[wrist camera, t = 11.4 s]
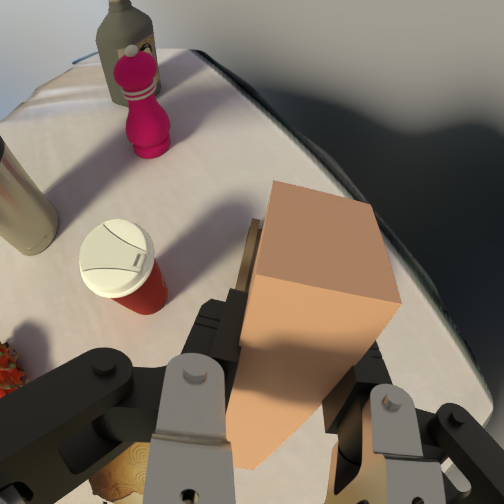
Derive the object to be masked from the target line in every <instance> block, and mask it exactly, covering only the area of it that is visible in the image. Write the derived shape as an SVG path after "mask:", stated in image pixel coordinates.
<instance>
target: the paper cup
mask: <svg viewBox="0 0 504 504" xmlns="http://www.w3.org/2000/svg"><path fill="white" fill-rule="evenodd" d="M79 263H80V271H81V275H82V278H83V280H84V282H85V284H86V285H87V286H88V287H89V288H90V290H92V291H93V292H94V293H96V294H98V295H100V296H103V297H107V298H111V299H112V300H114V301H116V302H118V303H119V304H121V305H123V306H125V307H127V308H128V309H130V310H132V311H134V312H136V313H139V314H142V315H150V314H154V313H156V312H157V311H159V310H160V309H161V308H162V307H163V305H164V304H165V302H166V299H167V288H166V285H165V282H164V279H163V277H162V274H161V272H160V269H159V266H158V264H157V261H156V259H155V250H154V245H153V242H152V240H151V238H150V236H149V234H148V233H147V232H146V231H145V230H144V229H143V228H142V227H141V226H139V225H137V224H135V223H132V222H129V221H126V220H121V219H115V220H109V221H106V222H103V223H102V224H100V225H99V226H97V227H96V228H95V229H93V230H92V231H91V232H90V233H89V234H88V236H87V237H86V238H85V240H84V242H83V244H82V246H81V249H80V254H79Z"/></svg>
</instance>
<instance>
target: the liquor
mask: <svg viewBox="0 0 504 504" xmlns="http://www.w3.org/2000/svg"><path fill="white" fill-rule="evenodd" d="M96 44H97V48H98V52H99V56H100V60H101V63H102V67H103V71H104V74H105V78H106V81H107V85H108V88H109V91H110V95H111V98H112V101H113V102H114V103H116V104H119V105H122V106H126V107H129V106H128V101H127V99H125V98H124V97H123V95H122V91H121V87H120V86H119V85H118V84H117V83H116V81H115V79H114V67H115V65H116V63H117V61H118V60H119V59H120V58H121V57H122V56H124V55H125V49H126V47H127V46H129V45H135V46H137V48H138V51H144V52H147V53H149V54H151V55H152V56H153V57H154V59H155V61H156V64H157V72H156V75H155V76H154V78H155V80H156V82H155V83H156V89H155V91H154V95H156V94H157V93H159V92H160V90H161V84H160V77H159V70H158V63H157V56H156V48H155V41H154V33H153V25H152V20H151V19H150V17H149V16H148V15H146V14H145V13H143V12H141V11H140V10H138V9H136V8H134V7H133V6H131V2H130V0H109V13H108V14H107V16H106V17H105V19H104V20H103V22H102V23H101V25H100V27H99V28H98V30H97V35H96Z"/></svg>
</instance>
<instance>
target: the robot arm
mask: <svg viewBox="0 0 504 504" xmlns="http://www.w3.org/2000/svg"><path fill="white" fill-rule="evenodd" d="M58 222H59V219H58V214H57V212H56V210H55V209H54V207H53V206H52V205H51V204H50V202H49V201H48V200H47V199H46V197H45V196H44V195H43V194H42V192H41V191H40V190H39V188H38V187H37V186H36V185H35V183H34V182H33V181H32V179H31V178H30V177H29V175H28V174H27V173H26V171H25V170H24V169H23V167H22V166H21V165H20V163H19V162H18V160H17V159H16V158H15V156H14V155H13V154H12V152H11V151H10V149H9V148H8V146H7V145H6V143H5V142H4V141H3V139H2V137H1V136H0V236H1V237H3V238H4V239H5V240H6V241H7V242H9V243H10V244H11V245H12V246H13V247H15V248H16V249H17V250H18V251H20V252H21V253H23V254H25V255H29V256H30V255H35V254H38V253H40V252H42V251H43V250H44V249H45V248H47V247H48V245H49V244H50V243H51V242H52V240H53V238H54V237H55V234H56V232H57V229H58ZM248 294H249V292H246V291H241V290H237V289H232V288H230V290H229V293H228V296H227V299H226V302H223V301H219V300H214V299H210V300H209V301H207V302H206V303H204V304H203V305H202V306H201V308H200V310H199V313H198V315H197V317H196V320H195V322H194V325H193V327H192V329H191V331H190V333H189V336H188V338H187V340H186V343H185V345H184V348H183V350H182V352H181V354H180V355H178V356H176V357H174V358H172V359H171V360H170V361H169V363H168V364H167V365H166V366H163V367H157V368H145V367H133V365H132V362H131V360H130V359H129V358H128V357H127V356H126V355H125V354H124V353H122V352H121V351H118V350H116V349H112V348H95V349H92V350H89V351H87V352H85V353H83V354H81V355H80V356H78V357H76V358H74V359H72V360H70V361H68V362H67V363H65V364H63V365H61V366H59V367H57V368H55V369H54V370H52V371H50V372H48V373H46V374H44V375H42V376H40V377H39V378H37V379H35V380H33V381H31V382H29V383H27V384H25V385H24V386H22V387H20V388H18V389H16V390H14V391H12V392H10V393H9V394H7V395H5V396H3V397H1V398H0V504H54V503H55V502H57V501H58V500H60V499H61V498H62V497H64V496H65V495H67V494H68V493H70V492H71V491H72V490H74V489H75V488H77V487H78V486H79V485H81V484H82V483H83V482H85V481H86V480H87V479H89V478H90V477H92V476H93V475H94V474H96V473H97V472H98V471H99V470H101V469H102V468H103V467H105V466H106V465H107V464H109V463H110V462H111V461H113V460H114V459H115V458H116V457H118V456H119V455H120V454H121V453H123V452H124V451H125V450H127V449H128V448H129V447H130V446H131V445H133V444H134V443H135V442H144V443H150V448H149V455H148V462H147V470H146V477H145V485H144V493H143V502H142V504H236V501H235V487H234V472H233V456H232V447H231V443H230V441H227V438H226V417H225V416H226V412H227V408H228V404H229V400H230V396H231V392H232V388H233V384H234V380H235V376H236V371H237V367H238V363H239V358H240V352H241V346H239V341H240V335H241V330H242V325H243V320H244V315H245V310H246V304H247V299H248ZM322 407H323V416H324V425H325V433H330V434H338V441H337V443H336V444H335V445H334V447H333V449H332V456H331V465H330V473H329V481H328V489H327V496H326V500H325V503H324V504H504V450H503V449H502V448H501V447H500V446H499V445H498V443H497V442H495V440H494V439H493V438H492V437H491V436H490V435H489V434H488V433H487V432H486V430H485V429H484V428H483V427H482V426H481V425H480V424H479V423H478V422H477V421H476V420H475V419H474V418H473V417H472V416H471V415H470V413H469V412H468V411H467V410H465V409H464V408H463V407H461V406H459V405H457V404H454V403H446V404H443V405H442V406H441V407H440V408H439V409H438V411H437V412H436V413H435V414H434V413H430V412H427V411H423V410H420V409H417V408H415V406H414V402H413V400H412V398H411V397H410V395H409V394H408V393H407V392H405V391H404V390H403V389H401V388H399V387H397V386H395V385H393V384H392V381H391V378H390V376H389V373H388V370H387V368H386V365H385V363H384V360H383V359H382V355H381V352H380V351H379V347H378V345H377V342H376V340H375V342H374V343H373V344H372V345H371V347H370V348H369V349H368V350H367V352H366V353H365V354H364V356H363V357H362V358H361V359H360V360H359V362H358V363H357V364H356V365H355V366H354V365H352V367H351V368H350V369H349V370H348V372H347V373H346V374H345V375H344V376H343V378H342V379H341V380H340V381H339V382H338V383H337V385H336V386H335V387H334V388H333V389H332V390H331V391H330V393H329V394H328V395H327V396H326V397H325V398H324V399H323V400H322ZM448 457H449V458H450V459H451V460H452V461H453V463H454V464H455V465H456V466H457V467H458V469H459V470H460V471H461V472H462V473H463V474H464V476H465V477H466V478H467V479H468V480H469V482H470V484H471V489H470V490H469V491H467V492H460V491H458V490H457V489H456V487H455V486H454V485H453V484H452V482H451V481H450V480H449V479H448V477H447V476H446V475H445V474H444V473H443V471H442V470H441V466H440V465H441V464H442V463H443V462H444V461H445V460H446V459H447V458H448Z"/></svg>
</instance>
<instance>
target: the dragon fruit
mask: <svg viewBox="0 0 504 504" xmlns="http://www.w3.org/2000/svg"><path fill="white" fill-rule="evenodd" d="M13 351H15V352H16V353H17V354H16V355H14V357H13V356H10V355H9V344H8V343H7V342H5V343H4V344H1V342H0V398H1V397H3V396H5V395H7V394H9V393H10V392H12V391H14V390H16V389H18V388H20V387H22V386H24V385H25V384H27V383H29V382H30V381H29V378H28V377H27V378H26V380H25V383H23V382H22V381H21V380H20V377H21V376H24V375H25V372H24V369H23V368H22V366H21V365H18V364H17V363H16V361H17V359H18V352H17V351H16V350H13ZM16 367H17V368H18V369H20V370H21V371H20V370H18V369H17V368H16Z"/></svg>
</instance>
